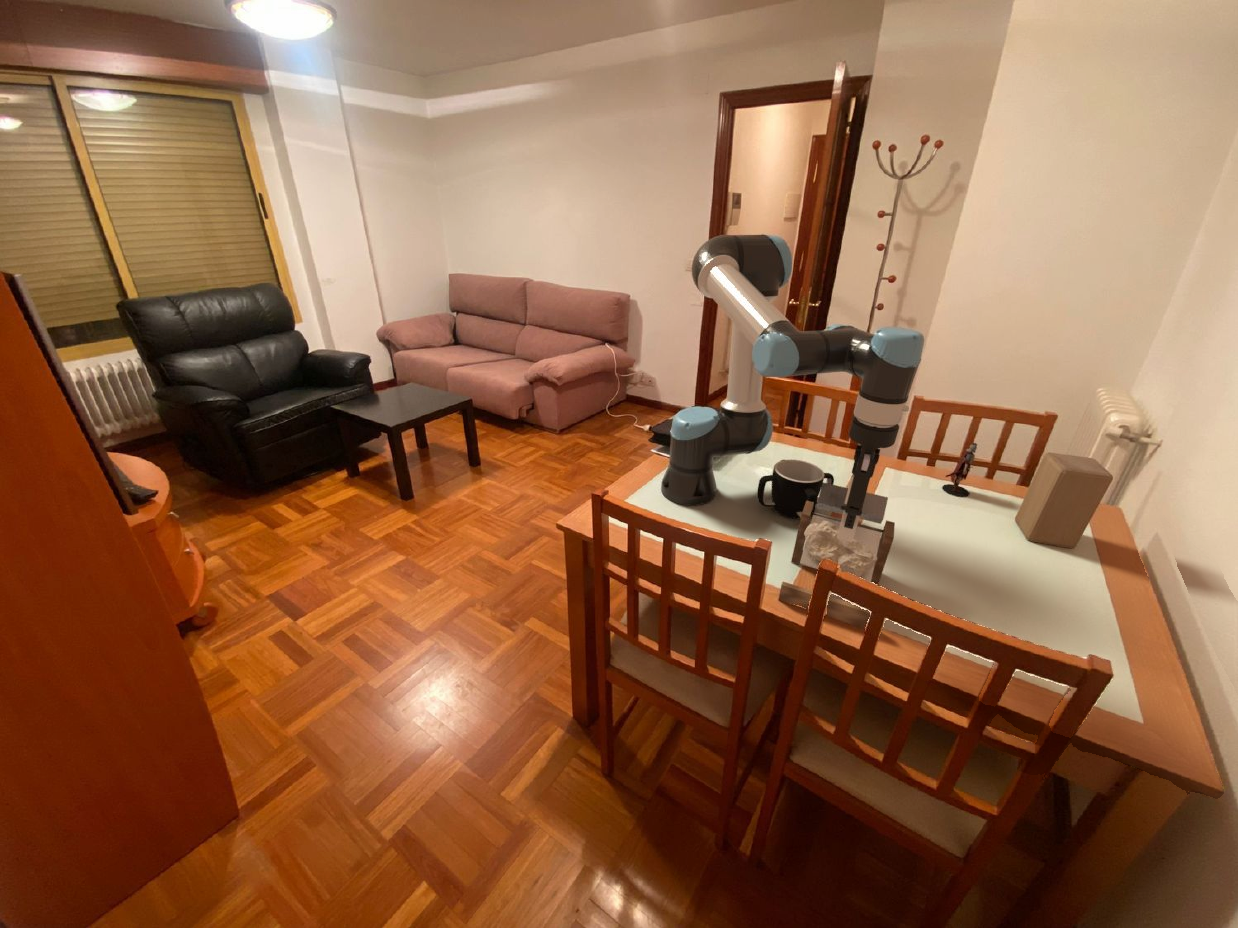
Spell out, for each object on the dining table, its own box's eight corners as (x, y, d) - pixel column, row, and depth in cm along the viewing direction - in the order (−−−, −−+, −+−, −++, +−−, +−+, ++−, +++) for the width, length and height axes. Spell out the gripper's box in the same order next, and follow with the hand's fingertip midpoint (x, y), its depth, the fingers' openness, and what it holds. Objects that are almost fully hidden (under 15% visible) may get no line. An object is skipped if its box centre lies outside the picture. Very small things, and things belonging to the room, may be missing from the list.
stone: (837, 583, 103) (866, 586, 93) (791, 542, 103) (816, 541, 93) (857, 554, 104) (888, 555, 95) (813, 515, 105) (839, 511, 95)
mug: (778, 487, 141) (786, 449, 135) (834, 510, 131) (844, 470, 125) (747, 509, 131) (753, 469, 125) (804, 536, 121) (814, 493, 115)
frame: (778, 600, 101) (789, 548, 95) (795, 547, 116) (806, 500, 110) (872, 631, 94) (891, 578, 88) (878, 571, 109) (894, 522, 103)
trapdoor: (799, 566, 106) (800, 562, 103) (820, 487, 112) (821, 482, 110) (868, 586, 100) (870, 583, 98) (886, 503, 107) (889, 497, 104)
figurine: (969, 499, 137) (989, 450, 130) (939, 492, 140) (957, 444, 133) (968, 488, 142) (987, 441, 135) (939, 482, 145) (956, 435, 138)
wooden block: (1058, 527, 125) (1095, 456, 116) (1076, 550, 117) (1117, 476, 108) (1012, 519, 128) (1044, 450, 119) (1026, 541, 120) (1061, 468, 110)
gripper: (898, 452, 75) (864, 563, 85) (901, 401, 95) (873, 496, 105) (845, 442, 78) (818, 550, 88) (859, 394, 98) (835, 487, 108)
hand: (848, 521), depth 97 cm, fingers open, 13 cm apart
